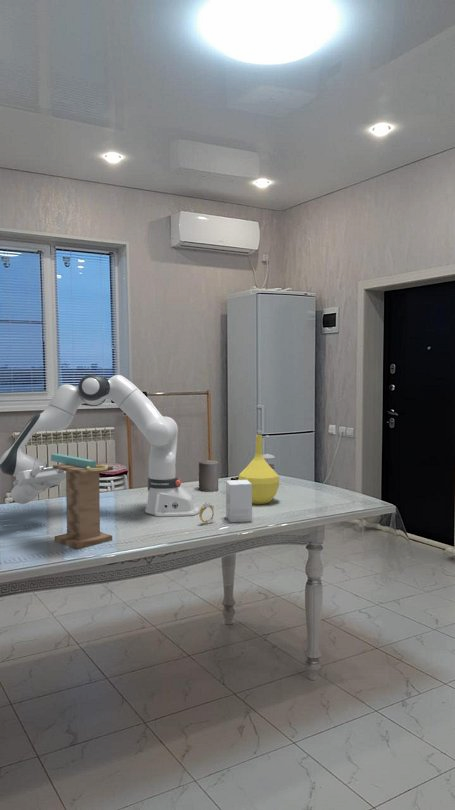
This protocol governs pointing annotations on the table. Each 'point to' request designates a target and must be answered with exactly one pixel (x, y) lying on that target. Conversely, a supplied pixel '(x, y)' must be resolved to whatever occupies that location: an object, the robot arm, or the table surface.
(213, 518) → the ring
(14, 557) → the table surface
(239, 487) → the supplement box
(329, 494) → the table surface
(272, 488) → the vase
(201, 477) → the pillar candle
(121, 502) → the table surface
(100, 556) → the table surface
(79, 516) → the stand
